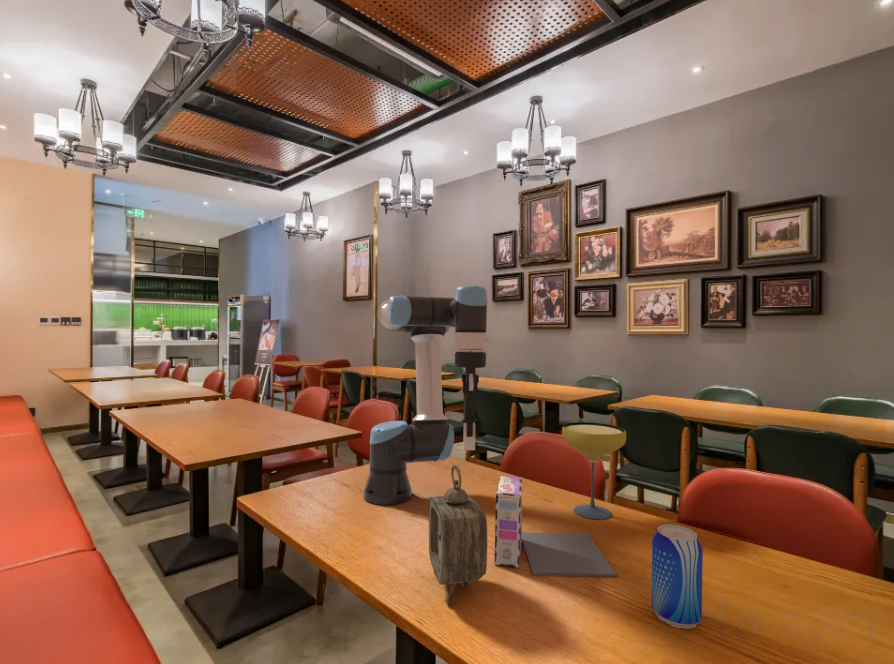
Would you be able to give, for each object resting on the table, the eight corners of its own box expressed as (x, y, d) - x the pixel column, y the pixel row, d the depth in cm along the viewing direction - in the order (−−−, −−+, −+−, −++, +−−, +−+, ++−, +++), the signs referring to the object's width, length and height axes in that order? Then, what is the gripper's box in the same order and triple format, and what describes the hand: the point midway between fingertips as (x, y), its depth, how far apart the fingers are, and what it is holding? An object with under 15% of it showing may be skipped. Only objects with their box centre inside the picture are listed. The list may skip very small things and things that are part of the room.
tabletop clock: (428, 572, 100) (429, 457, 100) (467, 568, 102) (469, 456, 102) (442, 611, 86) (444, 478, 86) (488, 606, 88) (490, 476, 88)
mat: (519, 534, 119) (519, 532, 119) (588, 535, 119) (588, 533, 119) (533, 575, 99) (533, 572, 99) (616, 576, 99) (616, 574, 99)
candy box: (520, 568, 102) (521, 495, 102) (493, 565, 103) (494, 492, 103) (522, 541, 116) (523, 476, 116) (498, 539, 117) (499, 474, 117)
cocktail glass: (634, 512, 136) (636, 428, 136) (609, 531, 122) (610, 437, 122) (578, 496, 148) (579, 419, 148) (549, 512, 135) (550, 427, 135)
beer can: (642, 604, 89) (643, 522, 89) (683, 603, 90) (684, 521, 90) (667, 633, 81) (668, 542, 81) (712, 631, 81) (713, 541, 81)
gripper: (488, 351, 103) (487, 456, 103) (484, 350, 116) (482, 443, 116) (455, 351, 103) (453, 456, 103) (454, 349, 116) (453, 442, 116)
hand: (469, 449), depth 109 cm, fingers closed
